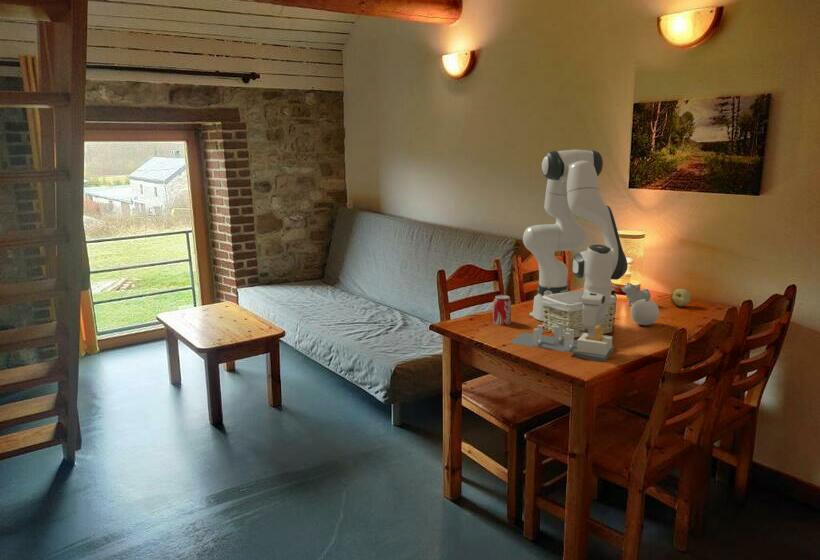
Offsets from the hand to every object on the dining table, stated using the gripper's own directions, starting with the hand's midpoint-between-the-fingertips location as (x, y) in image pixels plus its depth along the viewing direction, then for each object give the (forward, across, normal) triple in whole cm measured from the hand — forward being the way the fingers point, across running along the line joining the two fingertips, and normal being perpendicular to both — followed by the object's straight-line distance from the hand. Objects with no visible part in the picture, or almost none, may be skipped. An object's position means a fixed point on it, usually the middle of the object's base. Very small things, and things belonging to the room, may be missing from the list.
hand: (595, 333), depth 204 cm
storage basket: (+8, -21, -11) cm, 25 cm away
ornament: (+7, -43, +9) cm, 45 cm away
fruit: (+7, -79, +18) cm, 81 cm away
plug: (+6, 0, -2) cm, 6 cm away
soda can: (+7, -16, -40) cm, 44 cm away
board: (+7, 0, -12) cm, 14 cm away
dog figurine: (+7, -71, +1) cm, 71 cm away
